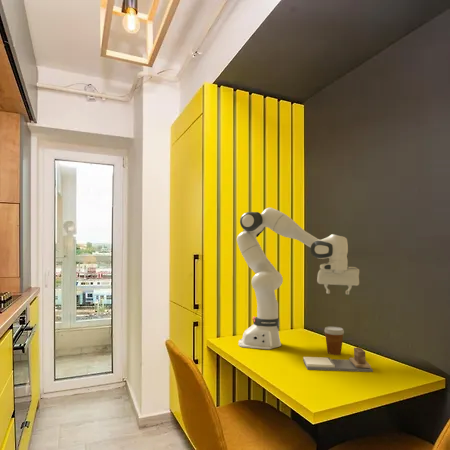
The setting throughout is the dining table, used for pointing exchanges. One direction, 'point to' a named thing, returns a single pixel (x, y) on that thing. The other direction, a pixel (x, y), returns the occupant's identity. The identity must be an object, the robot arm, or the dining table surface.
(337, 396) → the dining table surface
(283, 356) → the dining table surface
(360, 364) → the stub
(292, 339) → the dining table surface
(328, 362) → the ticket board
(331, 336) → the disposable coffee cup
